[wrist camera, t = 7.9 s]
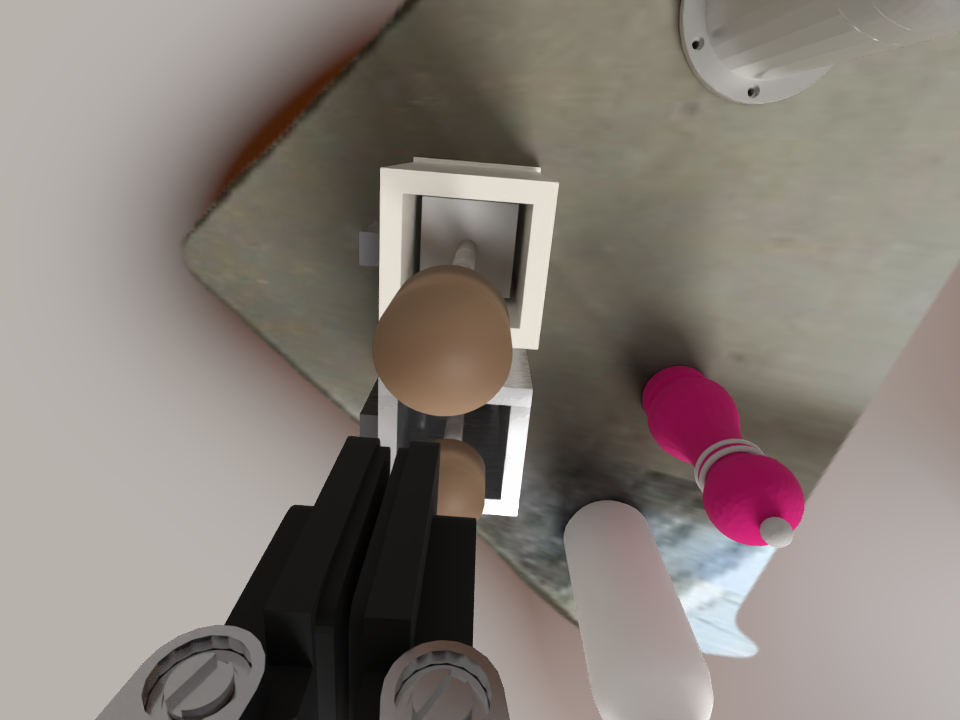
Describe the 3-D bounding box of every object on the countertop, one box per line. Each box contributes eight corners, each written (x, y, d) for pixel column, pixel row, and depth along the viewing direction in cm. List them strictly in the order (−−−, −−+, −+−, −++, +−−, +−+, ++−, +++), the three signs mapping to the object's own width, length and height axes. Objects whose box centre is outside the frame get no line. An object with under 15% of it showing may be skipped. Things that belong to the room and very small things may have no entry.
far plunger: (430, 331, 46) (390, 449, 28) (499, 336, 46) (504, 458, 28) (427, 393, 49) (388, 541, 30) (493, 399, 49) (494, 549, 30)
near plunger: (424, 195, 34) (345, 249, 16) (518, 203, 34) (549, 266, 16) (420, 288, 36) (348, 430, 18) (509, 295, 36) (527, 444, 18)
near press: (398, 155, 43) (349, 158, 28) (539, 167, 43) (565, 177, 28) (396, 278, 46) (351, 339, 32) (525, 288, 47) (542, 354, 32)
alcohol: (626, 482, 54) (772, 844, 26) (660, 544, 56) (826, 931, 28) (547, 517, 55) (604, 891, 27) (584, 575, 58) (671, 970, 30)
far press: (395, 300, 47) (351, 370, 32) (523, 311, 47) (538, 385, 32) (393, 402, 51) (353, 507, 36) (512, 411, 51) (520, 520, 36)
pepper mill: (621, 409, 51) (696, 560, 32) (666, 346, 48) (776, 470, 30) (683, 441, 52) (790, 605, 33) (730, 382, 49) (875, 523, 31)
